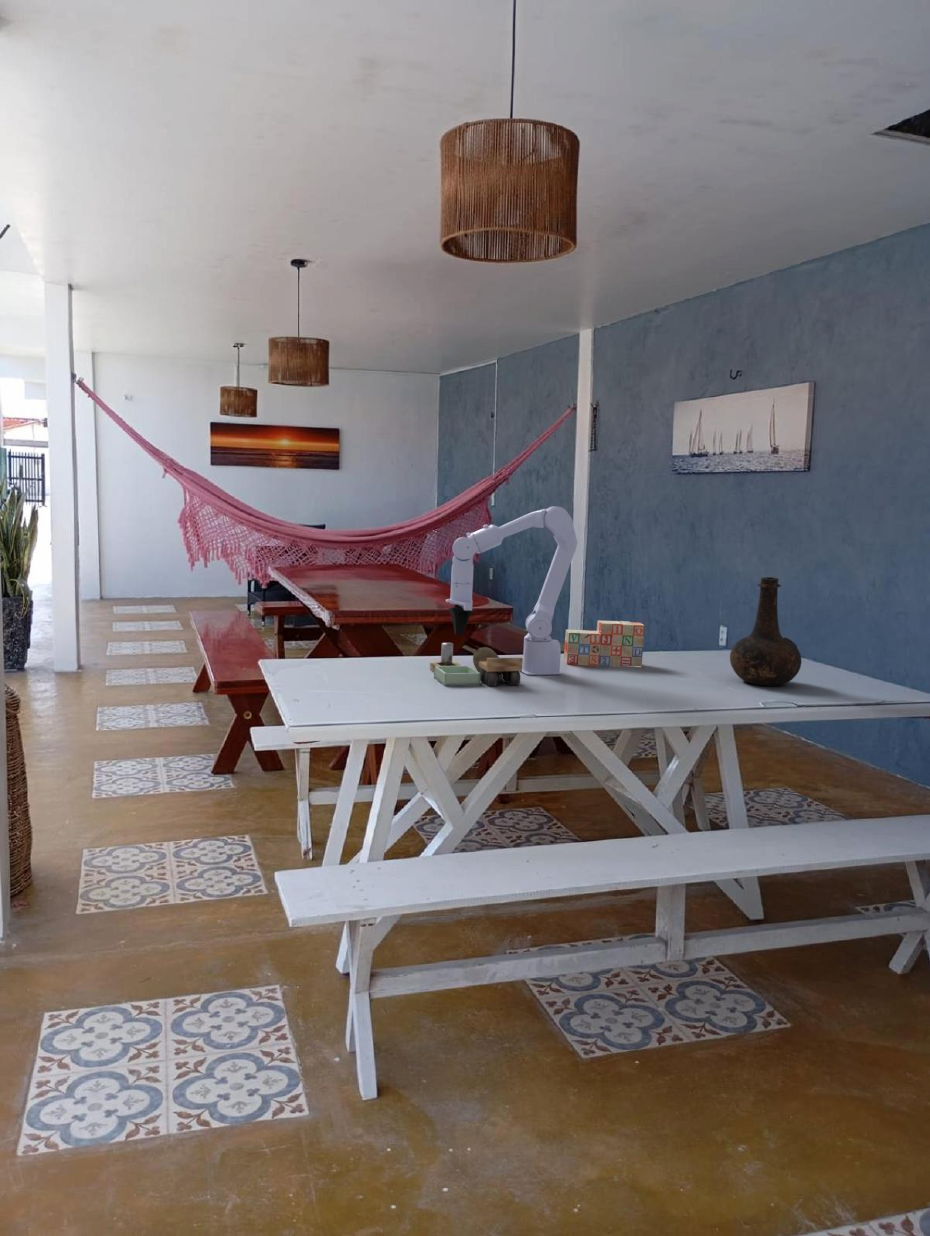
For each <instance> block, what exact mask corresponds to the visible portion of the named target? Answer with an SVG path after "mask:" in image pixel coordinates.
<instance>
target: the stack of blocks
mask: <svg viewBox="0 0 930 1236" xmlns="http://www.w3.org/2000/svg"><path fill="white" fill-rule="evenodd" d="M645 628H646V627H645V625H644V624H643V623H642V622H636V621H635V622H633V621H627V620H626V621H625V620H619V621H618V620H615V621H614V620H599V619H598V620H597V625H596V630H586V629H585V630H584V629H565V637H564V638H565V639H564V652H563V653H564V654H563V661H564V663H565V664H566V665H571V666H573V665H574V666H589V667H590V666H591V667H592V666H594V667H615V666H643V654H644V653H643V652H644V642H645V636H644V635H645Z"/></svg>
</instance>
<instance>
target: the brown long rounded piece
mask: <svg viewBox="0 0 930 1236" xmlns="http://www.w3.org/2000/svg"><path fill="white" fill-rule="evenodd" d="M487 658H500V656H499V655H498V654H497V653H496V652H495V651H494V650H493V649H492V648H490V647H487V646H484V647H479V648H477V649H476V650H475V652H473V656H472V662H473V666H474V668H475V670H476V671H478V672H479V673H480V669H481V667H479V662H483V661H487ZM502 672H503V671H496V673H497V678H500V677H502Z"/></svg>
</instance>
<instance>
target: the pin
mask: <svg viewBox="0 0 930 1236" xmlns="http://www.w3.org/2000/svg"><path fill="white" fill-rule="evenodd" d="M440 649H441V650H440V651H441V652H440V662H441V666H452V662H453V658H454V657H453V656H454V643H453V642H441V648H440Z"/></svg>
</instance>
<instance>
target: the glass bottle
mask: <svg viewBox="0 0 930 1236" xmlns="http://www.w3.org/2000/svg"><path fill="white" fill-rule="evenodd" d="M757 587H759V588H760V589H759V596H758V597H759V598H758V604H757V611H756V617H755V620H754V621H755V622H754V624H753V628H752V631H751V633H750V634H749V635H748V636H745V637H743V638H741V639H739V640H738V641H737V642H736V643H734V645H733V646H732V648H731V650H730V652H729V662H730V666H731V668H732V669H733V672H734V673H735V674H736V675H737V676H738V677H739V679H741V680H742V681H744V682H745V683H748V684H751V683H752V685H756V684H757V685H758V686H764V685H765V686H767V687H775V686H776V687H779V686H782V685H785V684H787V683H789V682H791V681H792V680H793V679H795V677H796V676H797V675H798V673H799V672H800V670H801V667H802V656H801V652H800V650H799V649H798V646H797V644H796V643H795V642H793V640H791V639H790V638H788V637H783V636H782V633H781V631H780V625H779V619H778V615H779V614H778V588H781V587H782V585H781V584H779V578H777V577H772V576H771V577H770V576H769V577H768V576H766V577H761V578H760V583H758V584H757Z"/></svg>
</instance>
